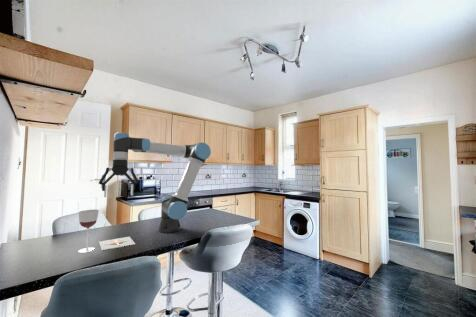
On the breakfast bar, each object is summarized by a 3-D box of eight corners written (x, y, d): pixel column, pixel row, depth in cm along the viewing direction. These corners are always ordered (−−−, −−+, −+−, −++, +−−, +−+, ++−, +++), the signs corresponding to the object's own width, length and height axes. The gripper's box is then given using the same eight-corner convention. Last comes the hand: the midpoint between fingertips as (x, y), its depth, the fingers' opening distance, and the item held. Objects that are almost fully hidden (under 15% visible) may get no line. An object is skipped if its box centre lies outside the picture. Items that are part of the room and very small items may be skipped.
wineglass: (72, 251, 108) (74, 212, 109) (89, 246, 116) (91, 209, 117) (84, 253, 105) (86, 213, 106) (100, 247, 113) (102, 210, 115)
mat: (129, 237, 132) (129, 236, 132) (135, 244, 119) (135, 243, 119) (98, 242, 122) (98, 241, 122) (101, 250, 109) (101, 249, 109)
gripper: (141, 160, 134) (140, 194, 133) (94, 158, 119) (92, 196, 117) (144, 160, 128) (143, 195, 127) (95, 158, 113) (93, 198, 112)
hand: (118, 196), depth 122 cm, fingers open, 13 cm apart
